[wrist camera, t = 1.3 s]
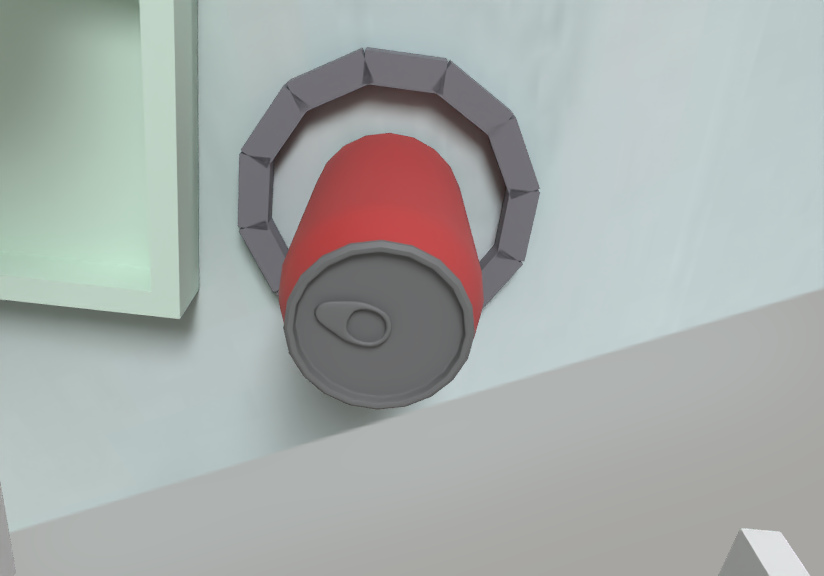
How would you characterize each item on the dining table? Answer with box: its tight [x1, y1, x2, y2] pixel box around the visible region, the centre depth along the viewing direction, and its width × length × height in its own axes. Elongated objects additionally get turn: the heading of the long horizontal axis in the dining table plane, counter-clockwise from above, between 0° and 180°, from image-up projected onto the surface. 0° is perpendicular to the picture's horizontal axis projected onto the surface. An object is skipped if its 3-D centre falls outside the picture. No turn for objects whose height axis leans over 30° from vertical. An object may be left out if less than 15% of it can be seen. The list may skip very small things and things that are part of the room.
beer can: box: [279, 133, 484, 409], centre depth 24 cm, size 7×7×12 cm
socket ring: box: [238, 47, 540, 308], centre depth 29 cm, size 13×13×1 cm
